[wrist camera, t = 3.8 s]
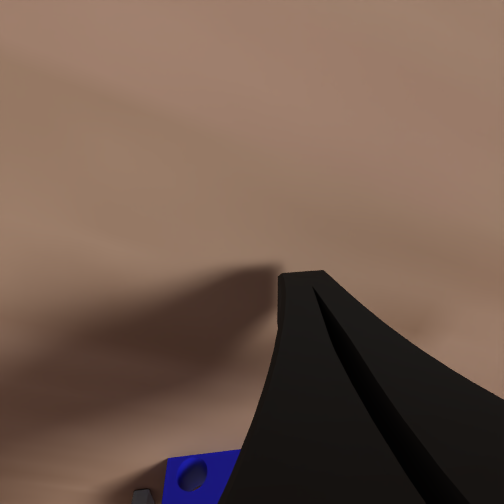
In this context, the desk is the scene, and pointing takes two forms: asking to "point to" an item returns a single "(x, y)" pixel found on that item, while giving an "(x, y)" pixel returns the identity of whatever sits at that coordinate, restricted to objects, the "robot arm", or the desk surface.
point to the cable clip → (198, 477)
